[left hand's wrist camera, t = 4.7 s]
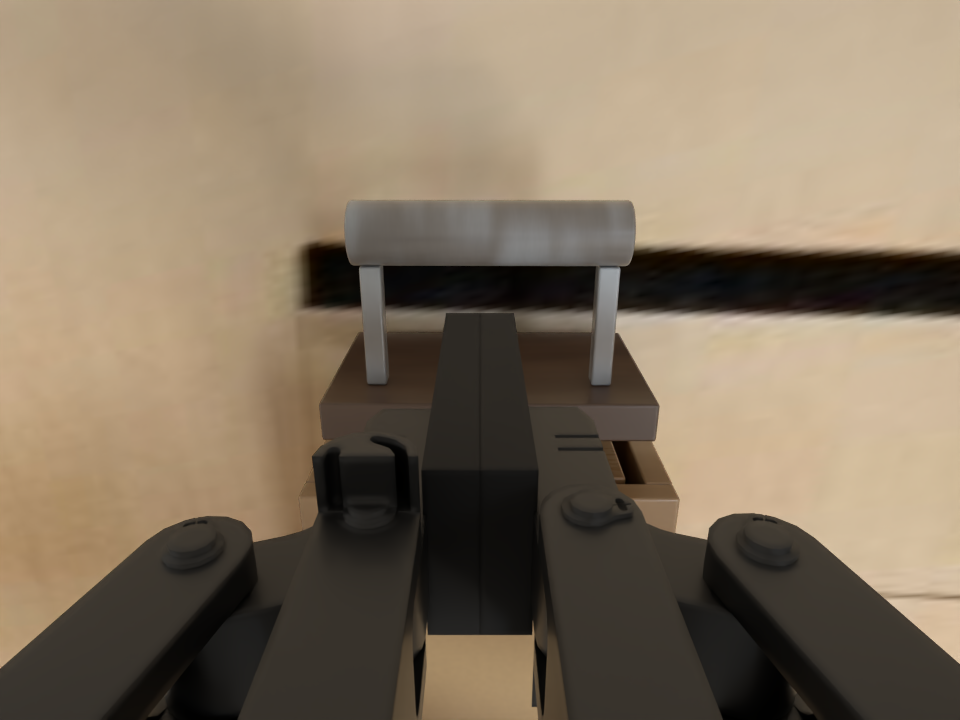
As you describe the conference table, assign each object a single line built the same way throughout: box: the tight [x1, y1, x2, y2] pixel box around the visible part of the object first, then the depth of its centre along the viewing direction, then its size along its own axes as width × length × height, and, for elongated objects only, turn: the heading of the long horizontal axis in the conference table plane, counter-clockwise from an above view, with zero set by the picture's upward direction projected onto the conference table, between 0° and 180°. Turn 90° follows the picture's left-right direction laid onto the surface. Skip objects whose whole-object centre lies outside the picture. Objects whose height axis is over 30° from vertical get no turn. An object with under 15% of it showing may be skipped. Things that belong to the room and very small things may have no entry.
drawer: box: [319, 200, 659, 484], centre depth 24 cm, size 25×10×6 cm, turn 0°
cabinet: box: [299, 440, 679, 720], centre depth 26 cm, size 20×11×8 cm, turn 0°
